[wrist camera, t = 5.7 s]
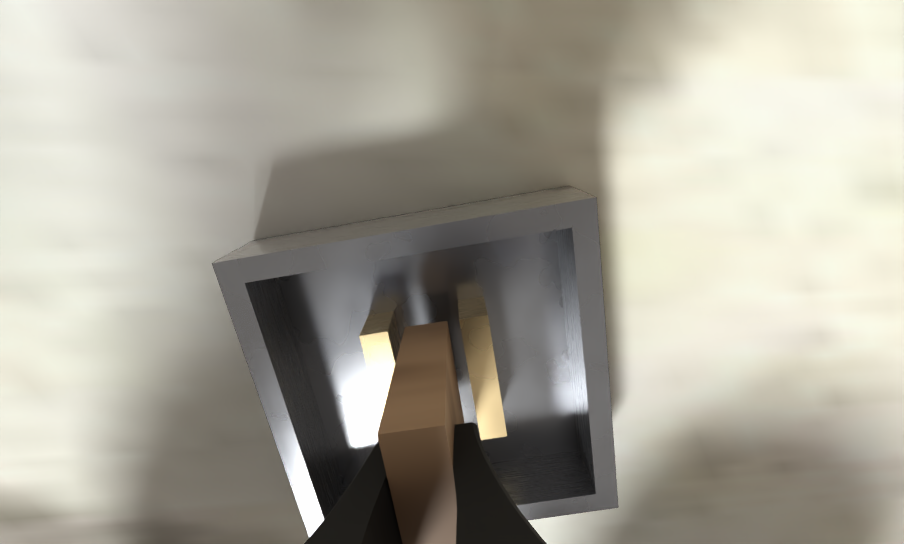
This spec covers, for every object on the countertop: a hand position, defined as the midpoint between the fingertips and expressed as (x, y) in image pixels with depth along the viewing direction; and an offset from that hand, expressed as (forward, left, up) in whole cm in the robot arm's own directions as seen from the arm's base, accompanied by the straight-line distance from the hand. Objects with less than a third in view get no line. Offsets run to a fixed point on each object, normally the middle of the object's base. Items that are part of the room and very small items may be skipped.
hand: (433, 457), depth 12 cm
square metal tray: (0, 0, -6) cm, 6 cm away
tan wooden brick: (0, 0, -4) cm, 4 cm away
